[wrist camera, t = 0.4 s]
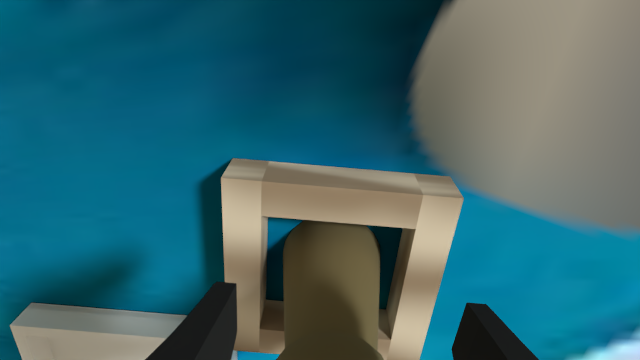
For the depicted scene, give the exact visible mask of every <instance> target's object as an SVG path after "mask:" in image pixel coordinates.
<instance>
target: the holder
mask: <svg viewBox="0 0 640 360" xmlns="http://www.w3.org/2000/svg"><path fill="white" fill-rule="evenodd" d="M221 193H222V220H223V247H224V274H225V282H227V283H237V335H236V340H235V345H234V349H233V350H236V351H248V352H260V353H272V354H281V353H282V351H283V350H284V349H285V341H284V301H276V300H266V275H267V232H268V217H278V218H290V219H302V220H313V221H325V222H337V223H349V224H361V225H373V226H385V227H397V228H403V230H402V234H401V239H400V244H399V249H398V254H397V259H396V264H395V269H394V273H393V278H392V283H391V288H390V293H389V298H388V303H387V308H386V310H384V309H379V319H378V350H377V351H378V352H379V353H380V354H381V355H382V357H383V359H384V360H419V359H420V355H421V352H422V348H423V344H424V341H425V337H426V334H427V330H428V326H429V323H430V319H431V315H432V312H433V308H434V305H435V301H436V297H437V294H438V290H439V286H440V283H441V279H442V276H443V272H444V268H445V265H446V261H447V257H448V254H449V250H450V247H451V243H452V239H453V236H454V232H455V228H456V225H457V221H458V218H459V214H460V210H461V207H462V203H463V199H464V198H463V196H462V195H461V193H460V192H459V190H458V189H457V187H456V185H455V184H454V182H453V181H452V179H451V177H448V176H436V175H424V174H412V173H401V172H389V171H377V170H365V169H354V168H342V167H330V166H318V165H307V164H295V163H283V162H271V161H260V160H248V159H236V158H233V159H232V160H231V162H230V164H229V165H228V167H227V169H226V170H225V172H224V174H223V175H222V177H221Z"/></svg>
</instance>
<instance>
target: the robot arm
mask: <svg viewBox="0 0 640 360" xmlns="http://www.w3.org/2000/svg"><path fill="white" fill-rule="evenodd" d="M236 335H237V283H227V282H216V283H215V284H213V286H212V287H211V288H210V289H209V291H208V292H207V293H206V294H205V296H204V297H203V298H202V299H201V301H200V302H199V303H198V304H197V305H196V307H195V308H194V309H193V310H192V311H191V312H190V314H189V315H188V316H187V317H186V318H185V319H184V320H183V321H182V322H181V323H180V325H179V326H178V327H177V328H176V329H175V330H174V331H173V332H172V333H171V334H170V335H169V336H168V337H167V338H166V339H165V340H164V341H163V342H162V343H161V344H160V345H159V346H158V347H157V348H156V349H155V350H154V351H153V352H152V353H151V354H150V355H149V356H148V357H147V358H146V359H145V360H231V358H232V353H233V349H234V345H235V340H236ZM452 353H453V359H454V360H539V359H538V358H537V357H536V356H535V355H534V354H533V353H532V352H531V351H530V350H529V349H528V348H527V347H526V346H525V345H524V344H523V343H522V342H521V341H520V340H519V338H518V337H517V336H516V335H515V334H514V333H513V332H512V331H511V330H510V329H509V328H508V327H507V326H506V325H505V324H504V322H503V321H502V320H501V319H500V318H499V317H498V316H497V315H496V314H495V313H494V312H493V311H492V310H491V309H490V308H489V307H488V306H487V305H486V304H476V303H466V307H465V310H464V313H463V316H462V319H461V322H460V325H459V328H458V331H457V334H456V337H455V340H454V343H453V347H452Z"/></svg>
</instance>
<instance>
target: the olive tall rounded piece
mask: <svg viewBox="0 0 640 360" xmlns="http://www.w3.org/2000/svg"><path fill="white" fill-rule="evenodd" d="M283 287H284V341H285V349H284V350H283V351H282V353H281V354H280V355H279V357H278V358H277V359H276V360H384V359H383V357H382V355H381V354H380V353H379V352H378V351H377V350H378V319H379V288H380V245H379V243H378V241H377V239H376V237H375V234H374V233H373V232H372V231H371V230H370V229H369V228H368V227H367V226H366V225H361V224H349V223H337V222H325V221H313V220H304V221H302V222H301V223H300V224H299V225H297V226H296V227H295V228H294V229H292V231H291V232H290V234H289V236H288V237H287V239H286V240H285V245H284V250H283Z"/></svg>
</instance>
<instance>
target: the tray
mask: <svg viewBox="0 0 640 360" xmlns="http://www.w3.org/2000/svg"><path fill="white" fill-rule="evenodd" d="M187 316H188V315H176V314H164V313H151V312H139V311H127V310H115V309H103V308H91V307H79V306H66V305H54V304H42V303H31V304H30V305H29V306H28V307H27V308H26V309H25V310H24V311H23V312H22V313H21V314H20V315H19V316H18V317H17V318H16V319H15V320H14V321H13V322H12V323H11V324H10V328H11V330H12V333H13V336H14V339H15V341H16V344H17V347H18V349H19V352H20V355H21V357H22V360H145V359H146V358H147V357H148V356H149V355H150V354H151V353H152V352H153V351H154V350H155V349H156V348H157V347H158V346H159V345H160V344H161V343H162V342H163V341H164V340H165V339H166V338H167V337H168V336H169V335H170V334H171V333H172V332H173V331H174V330H175V329H176V328H177V327H178V326H179V325H180V323H181V322H182V321H183V320H184V319H185V318H186V317H187ZM231 360H237V351H236V350H233V353H232V358H231Z"/></svg>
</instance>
